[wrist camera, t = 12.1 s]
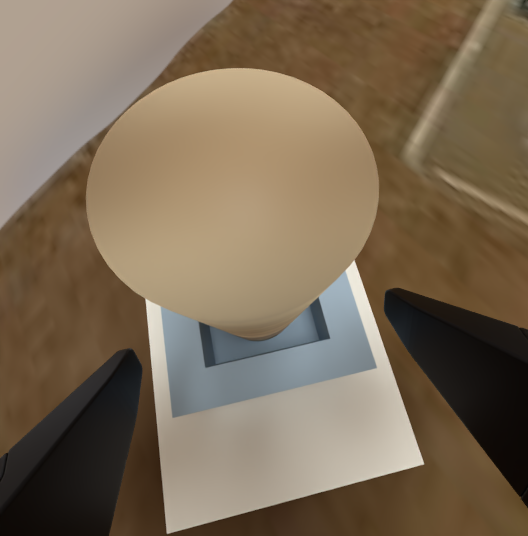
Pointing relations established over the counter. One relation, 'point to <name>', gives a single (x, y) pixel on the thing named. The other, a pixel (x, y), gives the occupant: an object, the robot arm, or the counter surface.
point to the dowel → (233, 198)
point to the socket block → (264, 354)
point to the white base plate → (279, 436)
